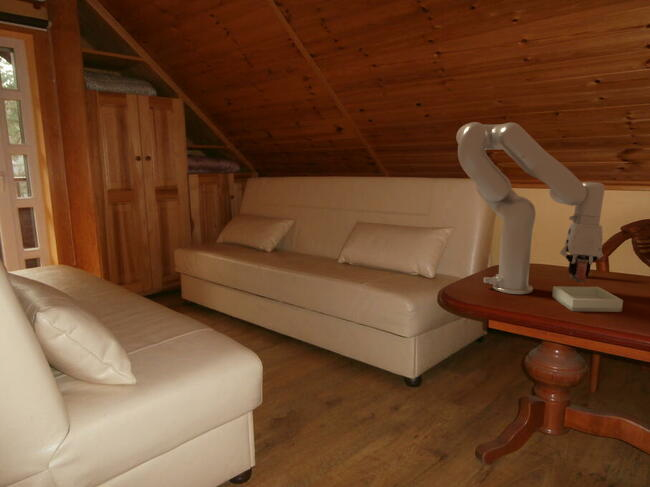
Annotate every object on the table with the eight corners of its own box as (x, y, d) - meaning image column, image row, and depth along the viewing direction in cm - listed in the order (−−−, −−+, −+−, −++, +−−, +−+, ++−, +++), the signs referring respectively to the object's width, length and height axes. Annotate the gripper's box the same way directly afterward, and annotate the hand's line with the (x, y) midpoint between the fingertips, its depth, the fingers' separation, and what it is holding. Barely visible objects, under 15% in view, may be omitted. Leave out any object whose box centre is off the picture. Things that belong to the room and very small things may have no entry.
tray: (571, 311, 136) (573, 299, 135) (552, 296, 149) (553, 286, 149) (621, 311, 135) (623, 300, 134) (597, 297, 148) (598, 286, 148)
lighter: (587, 283, 151) (591, 253, 149) (575, 282, 151) (580, 252, 149) (578, 277, 158) (583, 248, 156) (568, 276, 159) (572, 247, 157)
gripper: (565, 220, 148) (557, 276, 151) (619, 223, 147) (610, 279, 150) (555, 217, 155) (548, 270, 159) (606, 220, 154) (598, 273, 158)
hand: (578, 274), depth 154 cm, fingers closed on lighter, 3 cm apart
